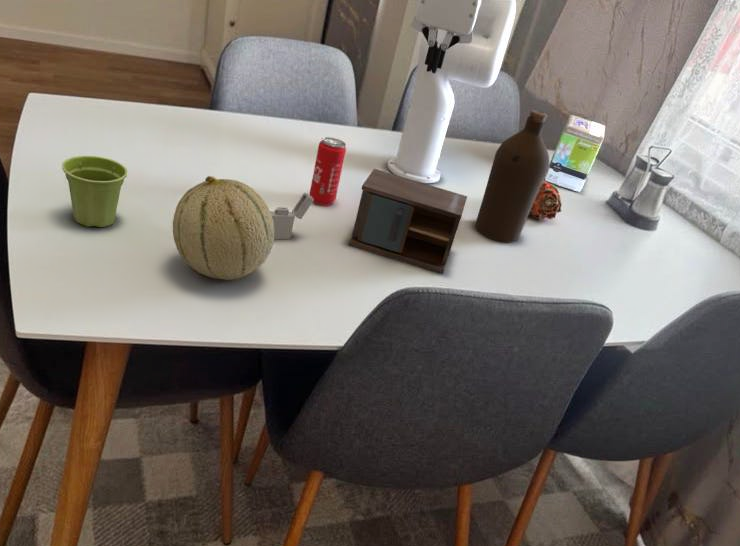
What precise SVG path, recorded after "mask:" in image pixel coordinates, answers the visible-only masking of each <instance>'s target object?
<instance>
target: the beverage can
mask: <svg viewBox="0 0 740 546" xmlns="http://www.w3.org/2000/svg"><path fill="white" fill-rule="evenodd" d="M346 145H347V144H346V142H344V141H342V140H341V139H338V138H335V137H329V136H327V137H322V138H321V139H320V141H319V142H318V147H317V153H316V158H315V163H314V168H313V173H312V179H311V183H310V184H311V185H310V188H309V189H310V190H309V195H310V196H312V198H313V199H314V201H313V203H314V204H315V205H318V206H322V207H331V206H332V205H333V204H334V202H335V201H336V199H337V194H338V190H339V185H340V180H341V175H342V171H343V166H344V161H345V158H346V157H345V156H346V152H347V147H346ZM313 203H312V204H313Z"/></svg>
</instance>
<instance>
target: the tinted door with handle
mask: <svg viewBox="0 0 740 546" xmlns="http://www.w3.org/2000/svg"><path fill="white" fill-rule="evenodd" d="M414 208H415V206H414V205H410V204H407V203H403V202H400V201H397V200H393V199H390V198H387V197H384V196H380V195H377V194H374V193H371V192H369V194H368V198H367V202H366V206H365V210H364V215H363V219H362V223H361V227H360V231H359V236H358V240H359V241H362V242H366V243H369V244H372V245H375V246H379V247H382V248H385V249H388V250H392V251H395V252H398V253H402V251H403V247H404V244H405V240H406V236H407V233H408V229H409V226H410V222H411V219H412V215H413V212H414Z"/></svg>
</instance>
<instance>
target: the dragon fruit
mask: <svg viewBox="0 0 740 546" xmlns="http://www.w3.org/2000/svg"><path fill="white" fill-rule="evenodd" d="M562 202H563V201H562V197H561V195H560V192H559V190H558V188H557V185H556V184H553V183H550V182H548V181H545V179H544V180H543V182H542V184H541V187H540V189H539V191H538V193H537V196H536V198H535V200H534V203H533V205H532V207H531V210H530V212H529V214H528V215H533V217H534V218H535V219H538V220H541V221H542V220H544V219H549V220H552V219H555V218H556V215H557V214H558V213H561V212H562V205H563V204H562Z"/></svg>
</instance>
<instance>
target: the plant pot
mask: <svg viewBox="0 0 740 546" xmlns="http://www.w3.org/2000/svg"><path fill="white" fill-rule="evenodd" d="M61 170H62V171H63V173H64V174H65V178H66V180H67V182H68V188H69V195H70V202H71V208H72V215H73V219H74V220H75V221H76V223H79V224H80V225H82V226H85V227H97V228H105V227H109V226H111V225H113V224H114V223H115V220H116V215H117V210H118V204H119V199H120V194H121V190H122V186H123V184H124V181H125V179H126V178H127V176H128V172H129V171H128V169H127V167H126V166H125V165H123V164H122V163H120V162H119V161H117V160H114V159H112V158H108V157H103V156H95V155H78V156H72V157H69V158H66V159H65V160H64V161H63V162H62V164H61Z"/></svg>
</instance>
